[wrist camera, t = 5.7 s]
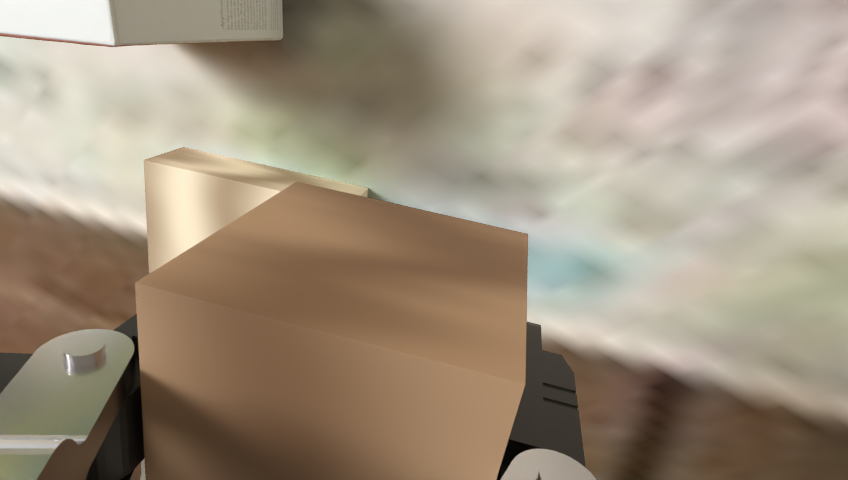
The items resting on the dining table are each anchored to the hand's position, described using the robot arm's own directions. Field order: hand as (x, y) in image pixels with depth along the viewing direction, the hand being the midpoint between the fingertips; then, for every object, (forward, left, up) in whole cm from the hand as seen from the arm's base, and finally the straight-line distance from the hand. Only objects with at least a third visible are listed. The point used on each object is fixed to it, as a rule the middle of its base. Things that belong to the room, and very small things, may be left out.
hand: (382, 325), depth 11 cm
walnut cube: (0, 0, -1) cm, 1 cm away
